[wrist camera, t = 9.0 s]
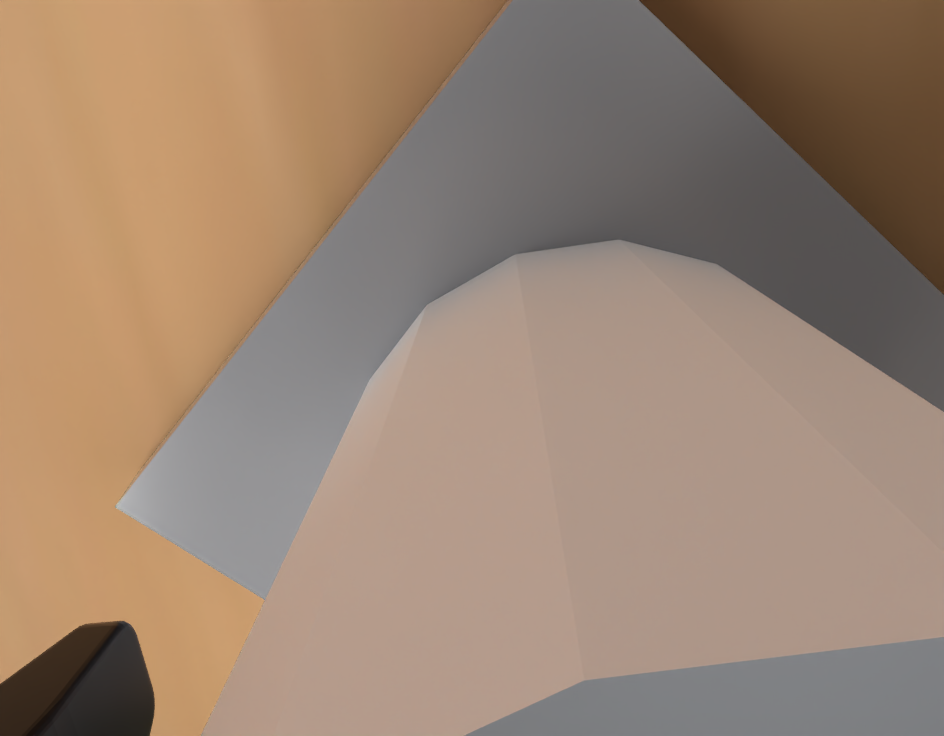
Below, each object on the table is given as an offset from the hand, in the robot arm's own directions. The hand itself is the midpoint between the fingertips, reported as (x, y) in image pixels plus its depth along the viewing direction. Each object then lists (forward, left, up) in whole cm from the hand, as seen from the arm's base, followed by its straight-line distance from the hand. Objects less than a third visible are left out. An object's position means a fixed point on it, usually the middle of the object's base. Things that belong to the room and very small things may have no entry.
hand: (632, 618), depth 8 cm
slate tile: (0, 0, -4) cm, 4 cm away
